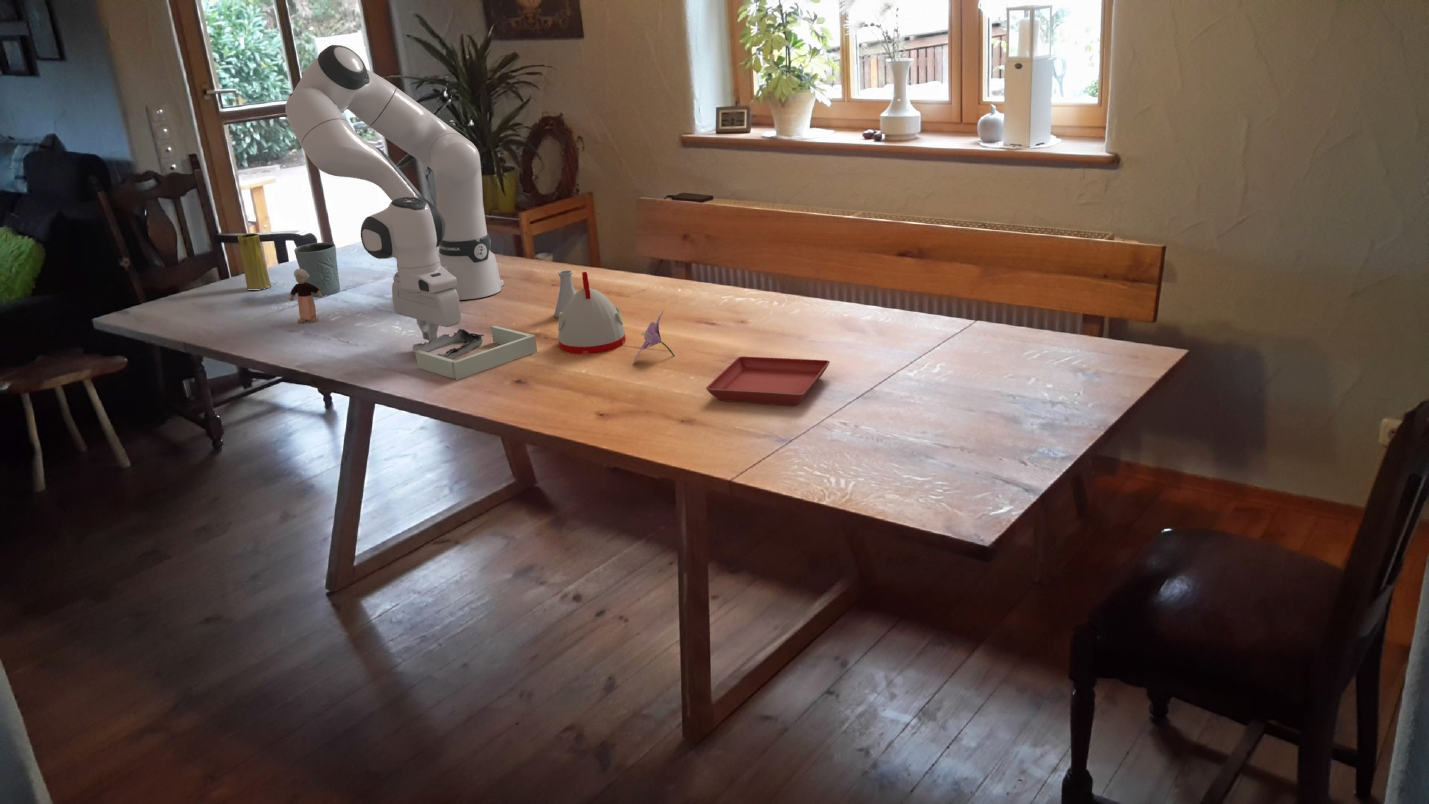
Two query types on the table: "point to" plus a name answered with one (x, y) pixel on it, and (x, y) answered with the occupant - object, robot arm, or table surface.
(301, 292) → the grandmother figurine
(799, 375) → the plant saucer
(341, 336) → the table surface
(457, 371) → the frame
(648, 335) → the lily
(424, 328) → the robot arm
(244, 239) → the vase
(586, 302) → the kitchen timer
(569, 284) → the flask
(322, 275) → the green plant pot
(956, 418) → the table surface
